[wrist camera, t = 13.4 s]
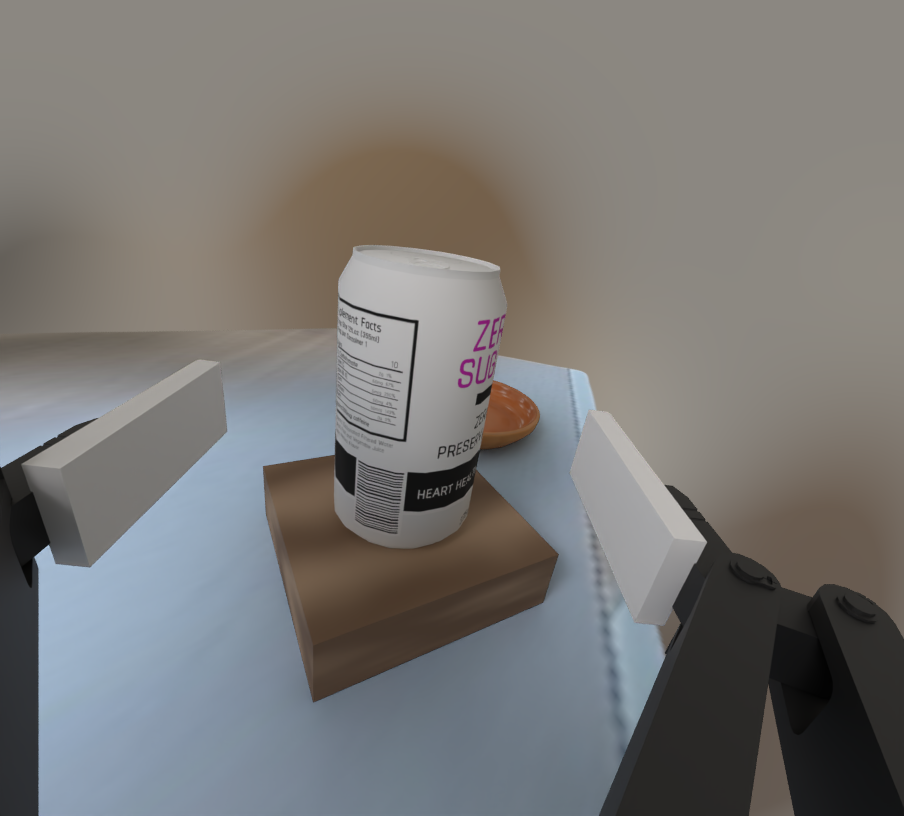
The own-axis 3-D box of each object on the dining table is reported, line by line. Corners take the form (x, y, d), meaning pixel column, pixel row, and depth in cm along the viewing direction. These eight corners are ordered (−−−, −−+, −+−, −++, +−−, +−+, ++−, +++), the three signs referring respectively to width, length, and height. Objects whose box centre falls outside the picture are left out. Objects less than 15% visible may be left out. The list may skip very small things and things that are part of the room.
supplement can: (342, 467, 30) (349, 238, 23) (459, 474, 31) (496, 258, 24) (322, 554, 22) (324, 256, 16) (475, 558, 24) (534, 282, 17)
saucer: (443, 382, 58) (446, 361, 57) (554, 423, 51) (560, 401, 50) (361, 419, 45) (363, 393, 44) (494, 481, 38) (500, 452, 37)
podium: (265, 513, 30) (262, 466, 29) (438, 477, 37) (444, 437, 35) (313, 702, 20) (313, 645, 18) (542, 602, 27) (558, 554, 25)
